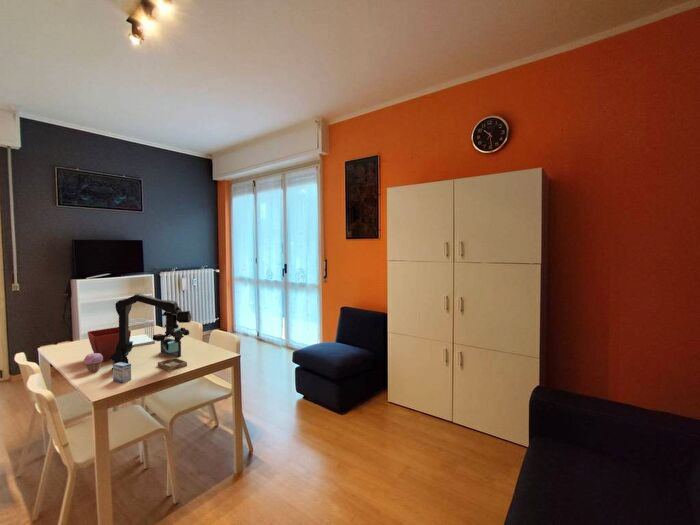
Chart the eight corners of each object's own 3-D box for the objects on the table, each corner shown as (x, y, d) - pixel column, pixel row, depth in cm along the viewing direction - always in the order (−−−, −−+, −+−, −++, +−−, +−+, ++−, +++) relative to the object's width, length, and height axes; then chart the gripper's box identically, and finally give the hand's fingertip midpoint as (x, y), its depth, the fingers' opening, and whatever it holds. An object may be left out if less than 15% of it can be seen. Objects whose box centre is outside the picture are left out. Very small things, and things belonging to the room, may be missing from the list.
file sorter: (119, 340, 250) (119, 320, 249) (146, 336, 262) (146, 317, 261) (127, 348, 232) (126, 325, 231) (155, 343, 244) (154, 322, 243)
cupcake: (83, 370, 188) (82, 353, 188) (102, 367, 194) (101, 350, 194) (85, 375, 182) (84, 356, 182) (104, 371, 188) (104, 353, 188)
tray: (169, 370, 188) (169, 366, 188) (157, 366, 196) (157, 362, 196) (186, 365, 197) (186, 361, 197) (174, 361, 204) (174, 357, 204)
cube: (169, 352, 193) (169, 344, 192) (165, 351, 195) (165, 342, 195) (178, 350, 197) (178, 342, 196) (173, 349, 199) (173, 341, 199)
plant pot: (94, 365, 198) (93, 336, 197) (87, 357, 211) (87, 331, 210) (132, 357, 212) (131, 331, 211) (123, 351, 225) (122, 326, 224)
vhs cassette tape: (181, 356, 215) (181, 340, 214) (177, 357, 212) (176, 341, 212) (164, 351, 224) (164, 336, 224) (160, 352, 221) (160, 337, 221)
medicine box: (112, 380, 174) (112, 364, 174) (121, 377, 179) (120, 361, 178) (123, 382, 172) (122, 366, 171) (131, 379, 176) (131, 363, 175)
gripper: (162, 327, 183) (162, 356, 184) (194, 321, 199) (194, 347, 199) (151, 325, 189) (152, 352, 190) (183, 319, 205) (184, 344, 205)
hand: (171, 349), depth 196 cm, fingers closed on cube, 5 cm apart
